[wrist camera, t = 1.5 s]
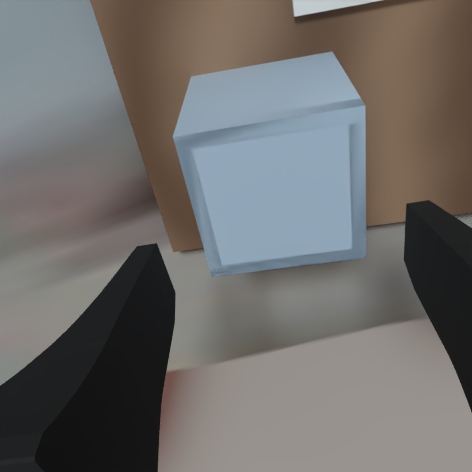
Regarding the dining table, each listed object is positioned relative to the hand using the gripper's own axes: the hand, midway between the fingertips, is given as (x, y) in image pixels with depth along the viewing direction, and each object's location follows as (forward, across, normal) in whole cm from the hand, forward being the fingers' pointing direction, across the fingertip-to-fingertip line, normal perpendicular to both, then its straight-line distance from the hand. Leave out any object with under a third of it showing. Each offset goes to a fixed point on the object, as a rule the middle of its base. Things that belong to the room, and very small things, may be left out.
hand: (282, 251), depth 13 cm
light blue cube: (+8, 0, 0) cm, 9 cm away
